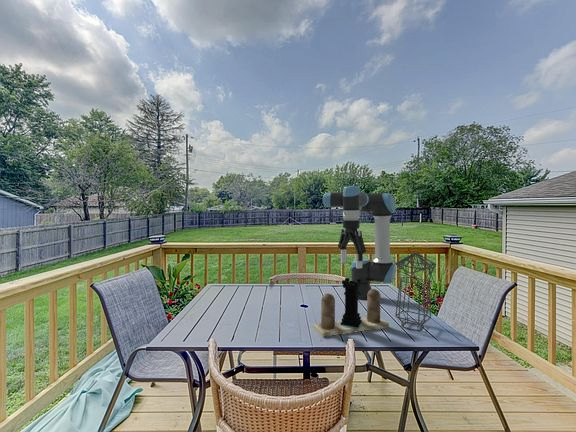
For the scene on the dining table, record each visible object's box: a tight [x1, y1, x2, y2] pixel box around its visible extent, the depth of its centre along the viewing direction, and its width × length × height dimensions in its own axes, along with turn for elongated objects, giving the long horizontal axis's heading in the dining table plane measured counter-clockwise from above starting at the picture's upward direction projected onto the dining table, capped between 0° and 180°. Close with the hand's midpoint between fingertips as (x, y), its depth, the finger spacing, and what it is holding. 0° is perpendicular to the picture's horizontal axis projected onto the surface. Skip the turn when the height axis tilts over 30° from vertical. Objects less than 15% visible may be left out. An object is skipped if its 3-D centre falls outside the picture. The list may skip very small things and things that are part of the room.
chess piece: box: [341, 277, 362, 328], centre depth 139 cm, size 8×8×20 cm
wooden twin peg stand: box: [312, 288, 390, 338], centre depth 139 cm, size 34×11×17 cm, turn 109°
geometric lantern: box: [393, 251, 437, 332], centre depth 141 cm, size 16×16×35 cm
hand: (351, 265), depth 140 cm, fingers open, 13 cm apart
